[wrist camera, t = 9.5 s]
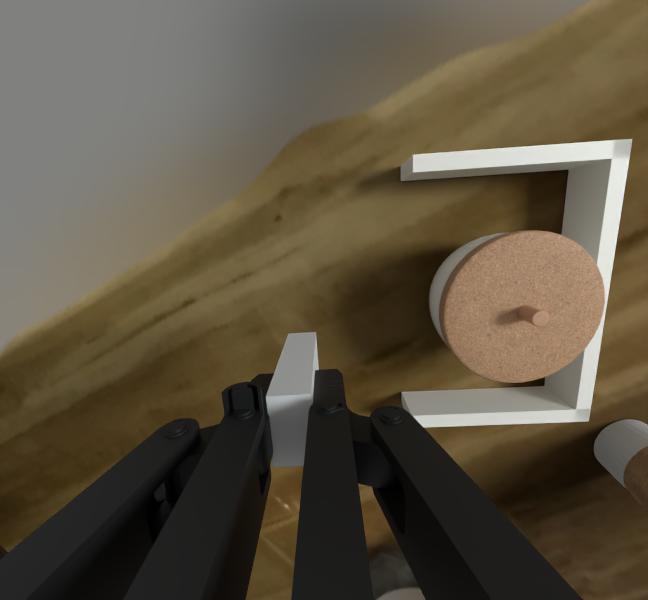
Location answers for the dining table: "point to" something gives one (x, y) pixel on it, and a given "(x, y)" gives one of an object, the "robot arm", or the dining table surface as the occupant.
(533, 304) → the lidded jar
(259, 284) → the dining table surface
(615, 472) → the coffee cup
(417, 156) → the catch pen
